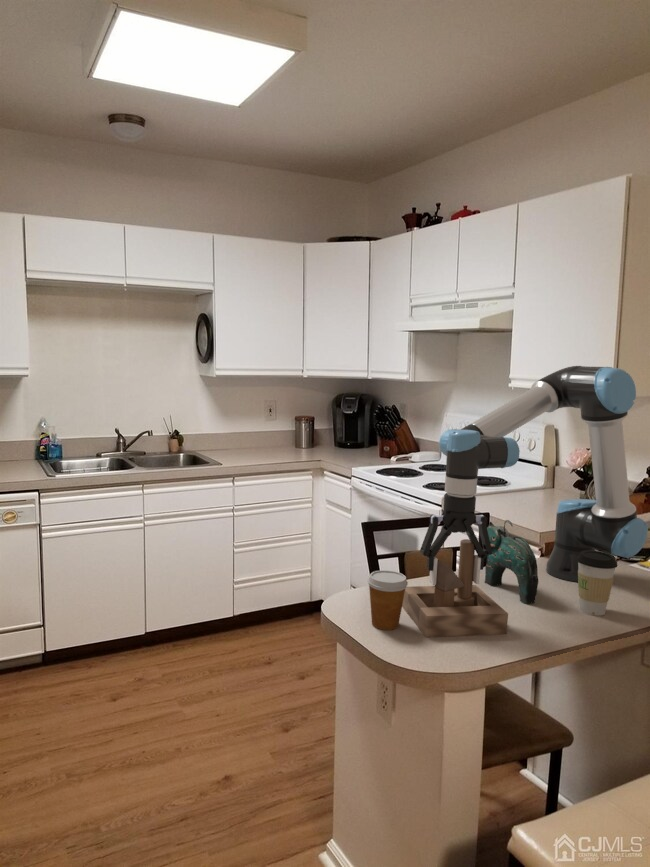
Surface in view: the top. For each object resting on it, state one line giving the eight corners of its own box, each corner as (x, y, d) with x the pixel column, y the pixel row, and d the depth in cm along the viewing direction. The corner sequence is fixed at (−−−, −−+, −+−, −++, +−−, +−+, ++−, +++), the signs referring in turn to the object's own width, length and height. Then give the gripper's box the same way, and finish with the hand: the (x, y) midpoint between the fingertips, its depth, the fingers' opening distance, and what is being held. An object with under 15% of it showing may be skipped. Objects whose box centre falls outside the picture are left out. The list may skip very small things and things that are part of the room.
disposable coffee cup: (358, 619, 160) (360, 571, 159) (392, 614, 164) (395, 568, 162) (376, 635, 151) (379, 585, 150) (412, 630, 155) (415, 581, 154)
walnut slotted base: (474, 603, 174) (475, 584, 173) (506, 633, 155) (508, 613, 155) (401, 605, 170) (402, 586, 170) (425, 636, 152) (426, 616, 151)
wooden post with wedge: (432, 615, 161) (436, 543, 159) (463, 607, 167) (467, 538, 165) (443, 620, 158) (447, 547, 156) (474, 612, 164) (478, 541, 162)
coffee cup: (582, 601, 179) (587, 547, 177) (618, 612, 172) (624, 556, 170) (565, 609, 172) (570, 554, 170) (603, 621, 165) (608, 563, 163)
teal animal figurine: (478, 581, 192) (482, 513, 189) (496, 579, 194) (501, 512, 192) (523, 606, 173) (529, 532, 171) (542, 603, 176) (549, 530, 174)
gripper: (497, 490, 165) (491, 576, 168) (409, 490, 161) (404, 578, 163) (511, 497, 157) (504, 586, 160) (419, 497, 153) (414, 589, 156)
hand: (454, 582), depth 162 cm, fingers closed on wooden post with wedge, 10 cm apart
